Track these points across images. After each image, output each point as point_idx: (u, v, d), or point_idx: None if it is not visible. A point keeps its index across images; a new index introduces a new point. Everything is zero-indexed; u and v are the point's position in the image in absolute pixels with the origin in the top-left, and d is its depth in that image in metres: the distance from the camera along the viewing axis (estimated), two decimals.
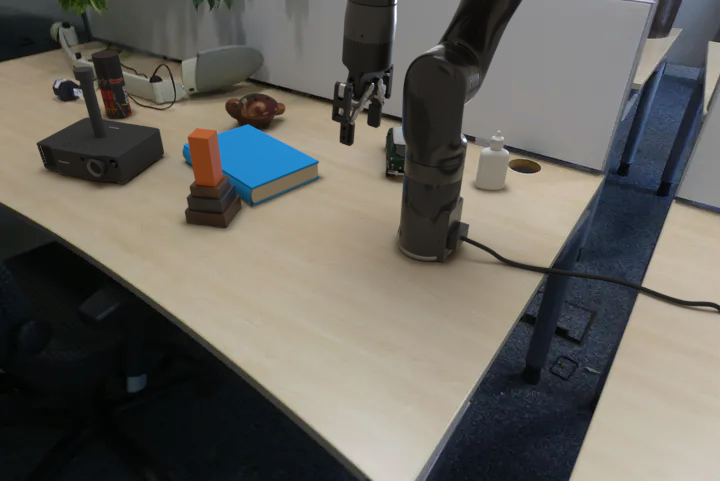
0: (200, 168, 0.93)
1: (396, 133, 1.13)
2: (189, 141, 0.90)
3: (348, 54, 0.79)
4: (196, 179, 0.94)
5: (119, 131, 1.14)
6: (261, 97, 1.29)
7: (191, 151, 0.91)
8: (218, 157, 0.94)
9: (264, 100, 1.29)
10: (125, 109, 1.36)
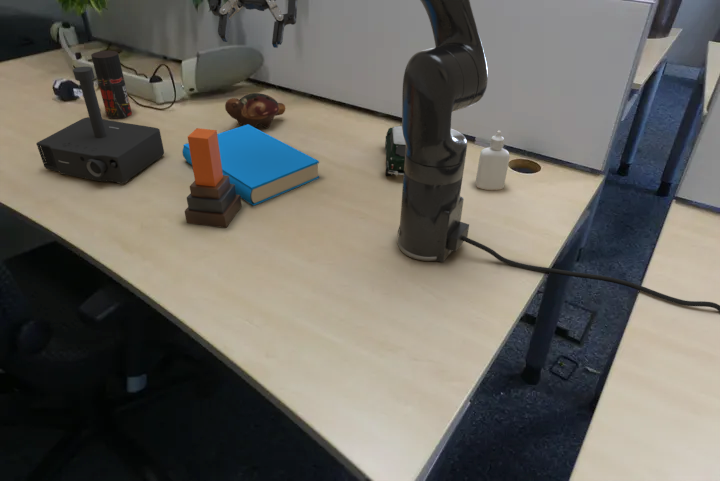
0: (200, 168, 0.93)
1: (395, 133, 1.13)
2: (189, 141, 0.90)
3: None
4: (196, 179, 0.94)
5: (119, 131, 1.14)
6: (261, 97, 1.29)
7: (191, 151, 0.91)
8: (218, 157, 0.94)
9: (264, 100, 1.29)
10: (125, 109, 1.36)
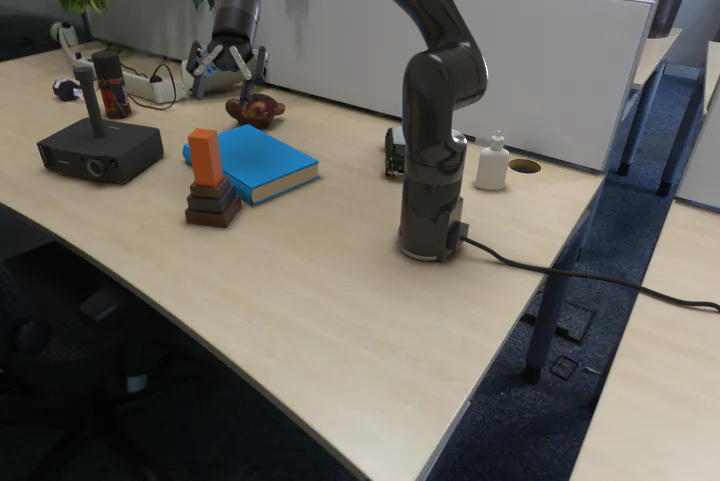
0: (200, 168, 0.93)
1: (395, 133, 1.13)
2: (189, 141, 0.90)
3: None
4: (196, 179, 0.94)
5: (119, 131, 1.14)
6: (261, 97, 1.29)
7: (191, 151, 0.91)
8: (218, 157, 0.94)
9: (264, 100, 1.29)
10: (125, 109, 1.36)
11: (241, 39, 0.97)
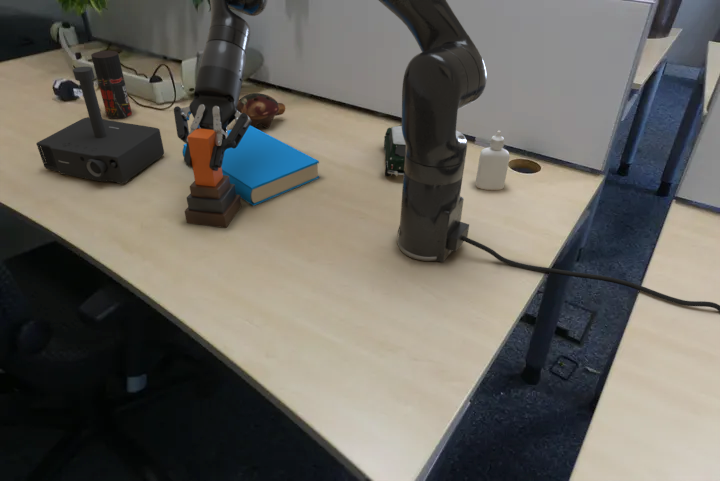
0: (200, 168, 0.93)
1: (395, 133, 1.13)
2: (189, 141, 0.90)
3: None
4: (196, 179, 0.94)
5: (119, 131, 1.14)
6: (261, 97, 1.29)
7: (191, 151, 0.91)
8: None
9: (264, 100, 1.29)
10: (125, 109, 1.36)
11: (224, 98, 0.93)
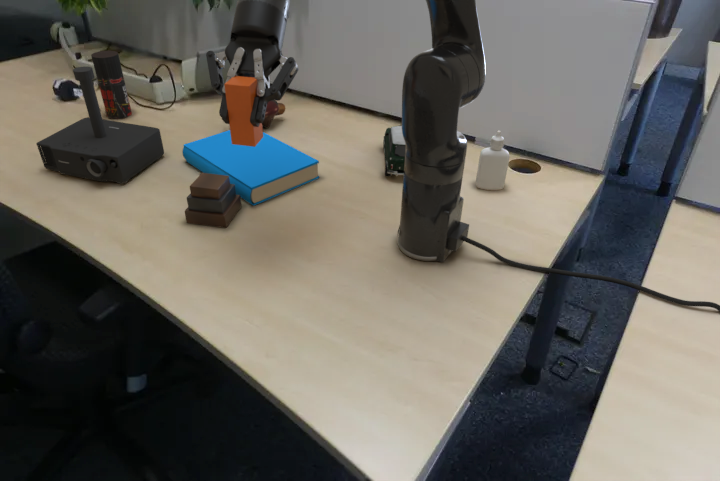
0: (238, 123, 0.78)
1: (394, 133, 1.13)
2: (226, 90, 0.75)
3: None
4: (233, 138, 0.79)
5: (119, 131, 1.14)
6: None
7: (228, 102, 0.76)
8: None
9: None
10: (125, 109, 1.36)
11: (267, 40, 0.78)
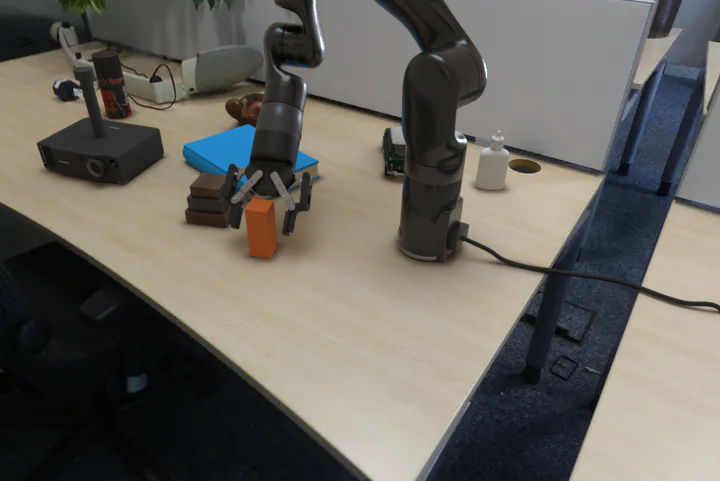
0: (256, 240, 0.88)
1: (394, 133, 1.13)
2: (246, 214, 0.85)
3: None
4: (251, 250, 0.90)
5: (119, 131, 1.14)
6: (261, 97, 1.29)
7: (247, 223, 0.86)
8: (274, 227, 0.89)
9: None
10: (125, 109, 1.36)
11: (283, 163, 0.88)
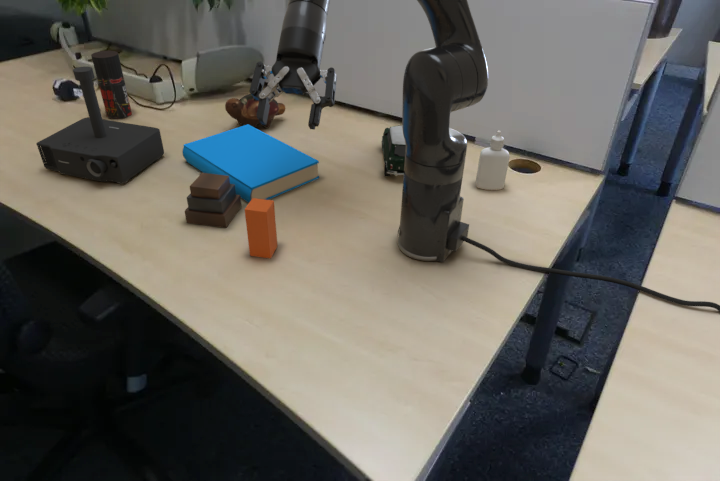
0: (256, 240, 0.88)
1: (393, 133, 1.13)
2: (246, 214, 0.85)
3: None
4: (251, 250, 0.90)
5: (119, 131, 1.14)
6: None
7: (247, 223, 0.86)
8: (274, 227, 0.89)
9: None
10: (125, 109, 1.36)
11: (308, 60, 0.92)
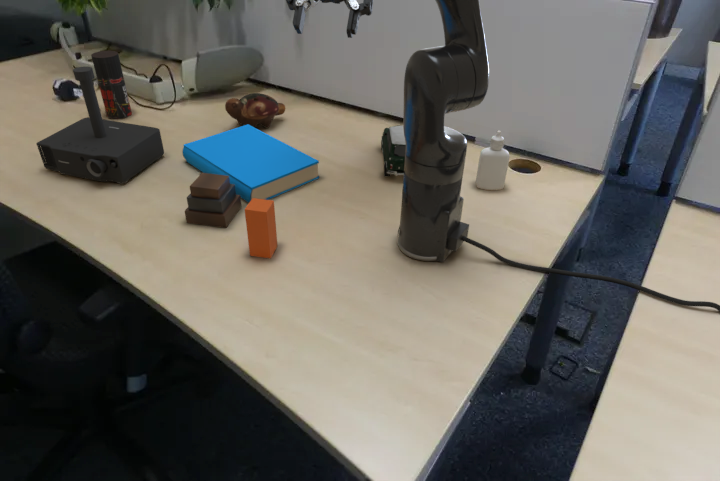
0: (256, 240, 0.88)
1: (393, 133, 1.13)
2: (246, 214, 0.85)
3: None
4: (251, 250, 0.90)
5: (119, 131, 1.14)
6: (261, 97, 1.29)
7: (247, 223, 0.86)
8: (274, 227, 0.89)
9: (264, 100, 1.29)
10: (125, 109, 1.36)
11: None
